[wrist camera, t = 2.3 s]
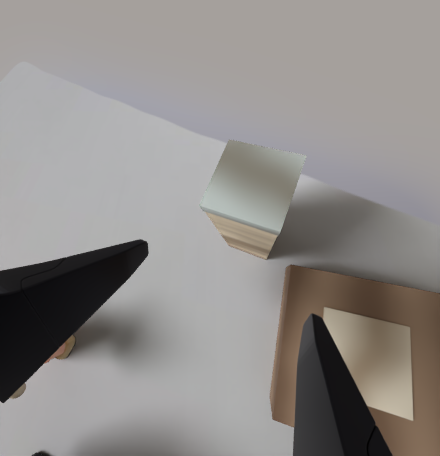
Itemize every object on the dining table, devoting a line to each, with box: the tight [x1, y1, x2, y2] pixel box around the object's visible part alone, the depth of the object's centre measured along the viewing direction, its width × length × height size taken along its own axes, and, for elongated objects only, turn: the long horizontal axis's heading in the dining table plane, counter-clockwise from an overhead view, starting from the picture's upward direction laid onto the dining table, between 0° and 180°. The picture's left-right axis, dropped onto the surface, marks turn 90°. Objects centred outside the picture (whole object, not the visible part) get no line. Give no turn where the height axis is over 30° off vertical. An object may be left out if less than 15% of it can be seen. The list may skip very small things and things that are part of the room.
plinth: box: [270, 265, 440, 456], centre depth 16 cm, size 12×12×3 cm
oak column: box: [199, 140, 306, 260], centre depth 16 cm, size 5×5×12 cm
